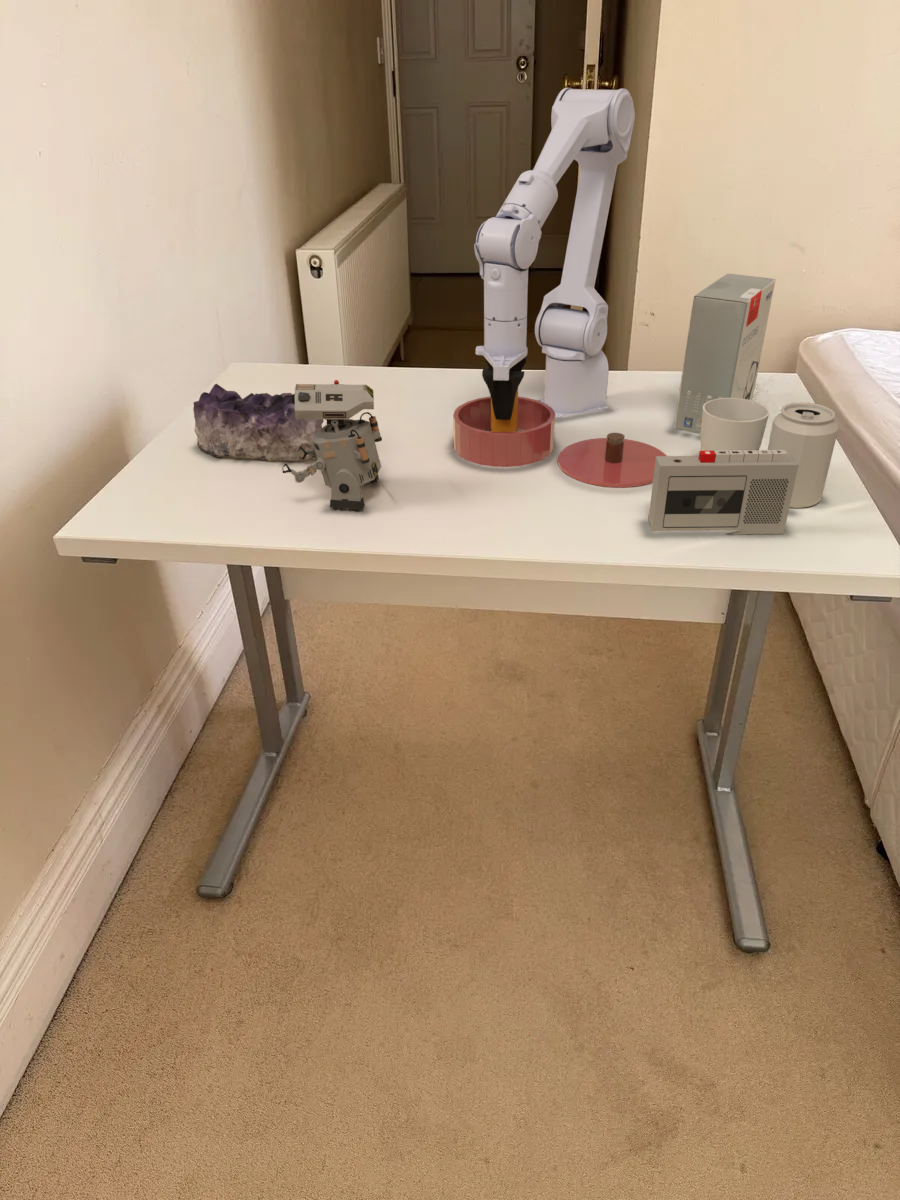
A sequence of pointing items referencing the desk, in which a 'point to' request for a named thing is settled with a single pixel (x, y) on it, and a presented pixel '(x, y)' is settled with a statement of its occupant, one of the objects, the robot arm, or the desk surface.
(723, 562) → the desk surface
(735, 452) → the cassette player
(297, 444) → the geode
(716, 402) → the cup
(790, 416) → the can
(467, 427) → the pot
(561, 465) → the lid
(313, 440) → the figurine
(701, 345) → the hard drive box
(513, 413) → the candle
